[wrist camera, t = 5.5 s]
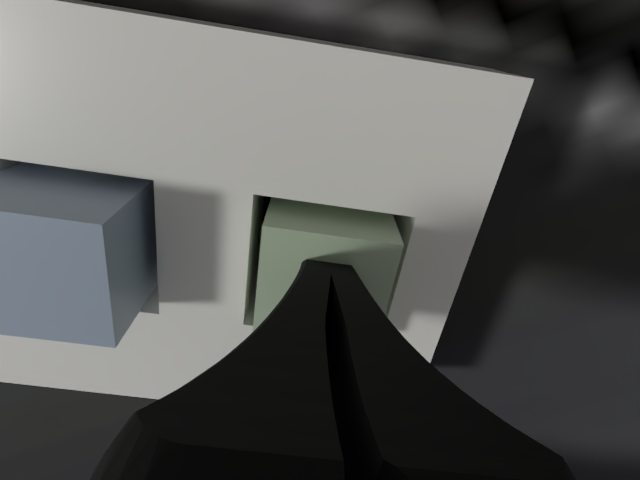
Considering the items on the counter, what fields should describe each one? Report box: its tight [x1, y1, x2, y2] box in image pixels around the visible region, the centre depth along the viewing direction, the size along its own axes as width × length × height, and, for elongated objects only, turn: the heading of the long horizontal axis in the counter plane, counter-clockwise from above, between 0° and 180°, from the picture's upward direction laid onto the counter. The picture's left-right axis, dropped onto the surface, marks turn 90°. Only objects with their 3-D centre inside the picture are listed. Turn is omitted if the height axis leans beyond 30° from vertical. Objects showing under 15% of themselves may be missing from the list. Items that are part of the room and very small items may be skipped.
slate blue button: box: [0, 162, 158, 348], centre depth 11 cm, size 4×4×3 cm
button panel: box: [0, 0, 534, 399], centre depth 13 cm, size 22×12×3 cm, turn 82°
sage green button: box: [253, 197, 404, 331], centre depth 12 cm, size 4×4×3 cm
